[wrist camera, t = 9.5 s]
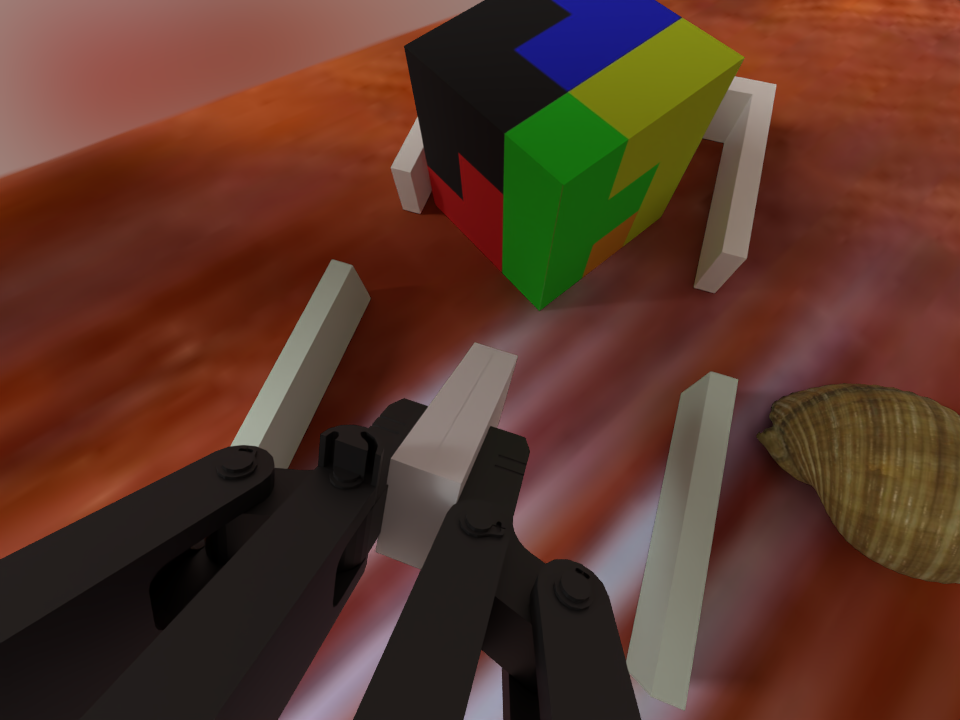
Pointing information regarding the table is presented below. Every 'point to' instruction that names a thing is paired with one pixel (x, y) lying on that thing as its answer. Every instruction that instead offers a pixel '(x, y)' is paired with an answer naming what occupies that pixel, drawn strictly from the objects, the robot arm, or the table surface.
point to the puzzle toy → (562, 126)
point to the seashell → (878, 471)
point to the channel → (682, 505)
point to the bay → (734, 192)
